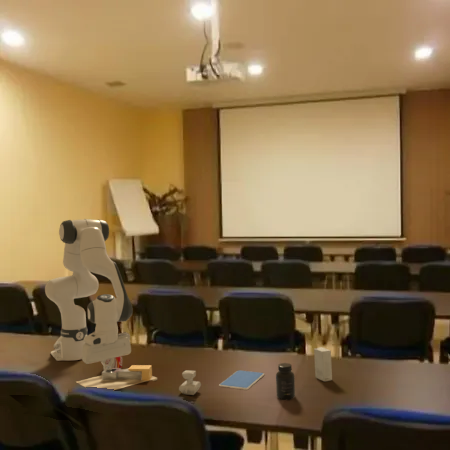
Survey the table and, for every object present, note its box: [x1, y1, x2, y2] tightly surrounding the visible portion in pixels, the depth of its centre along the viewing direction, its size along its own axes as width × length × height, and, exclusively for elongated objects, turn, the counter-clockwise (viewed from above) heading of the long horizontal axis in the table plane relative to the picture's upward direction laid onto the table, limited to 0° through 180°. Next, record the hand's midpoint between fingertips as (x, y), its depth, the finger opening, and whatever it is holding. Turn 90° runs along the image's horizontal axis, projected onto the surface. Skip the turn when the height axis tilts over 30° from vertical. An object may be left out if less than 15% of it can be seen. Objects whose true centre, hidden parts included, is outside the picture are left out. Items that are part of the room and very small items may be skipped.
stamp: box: [178, 370, 202, 396], centre depth 207 cm, size 9×7×8 cm
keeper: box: [127, 364, 153, 381], centre depth 224 cm, size 8×5×6 cm, turn 85°
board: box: [75, 367, 158, 391], centre depth 223 cm, size 20×26×1 cm
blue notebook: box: [218, 369, 266, 391], centre depth 220 cm, size 19×13×1 cm, turn 155°
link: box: [101, 368, 142, 380], centre depth 225 cm, size 16×6×3 cm, turn 82°
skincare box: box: [313, 346, 333, 382], centre depth 218 cm, size 6×4×12 cm
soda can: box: [105, 356, 123, 369], centre depth 240 cm, size 7×7×12 cm
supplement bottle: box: [275, 362, 296, 401], centre depth 200 cm, size 7×7×12 cm
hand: (107, 369), depth 219 cm, fingers closed
